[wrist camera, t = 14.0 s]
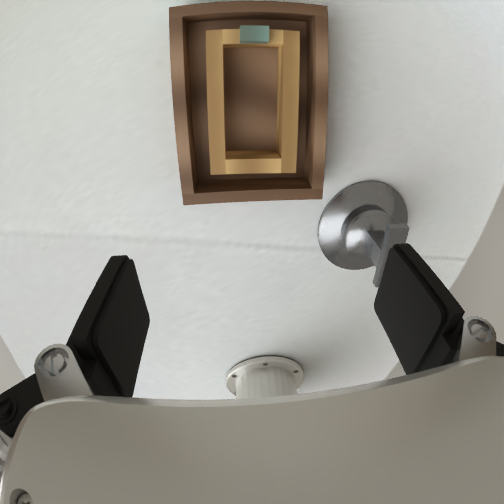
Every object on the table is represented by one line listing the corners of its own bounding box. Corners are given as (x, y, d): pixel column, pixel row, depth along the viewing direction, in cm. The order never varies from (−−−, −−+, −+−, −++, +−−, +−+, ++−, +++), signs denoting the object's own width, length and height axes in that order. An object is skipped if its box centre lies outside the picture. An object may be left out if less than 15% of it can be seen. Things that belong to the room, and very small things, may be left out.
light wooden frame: (292, 36, 20) (304, 28, 16) (289, 163, 26) (299, 178, 23) (208, 35, 20) (204, 26, 16) (212, 164, 26) (209, 180, 22)
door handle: (394, 264, 35) (419, 300, 29) (313, 270, 34) (328, 312, 28) (413, 182, 29) (449, 210, 23) (322, 180, 28) (346, 210, 22)
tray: (312, 184, 28) (322, 199, 25) (188, 190, 28) (183, 205, 25) (315, 14, 19) (327, 6, 16) (177, 16, 19) (169, 7, 16)
